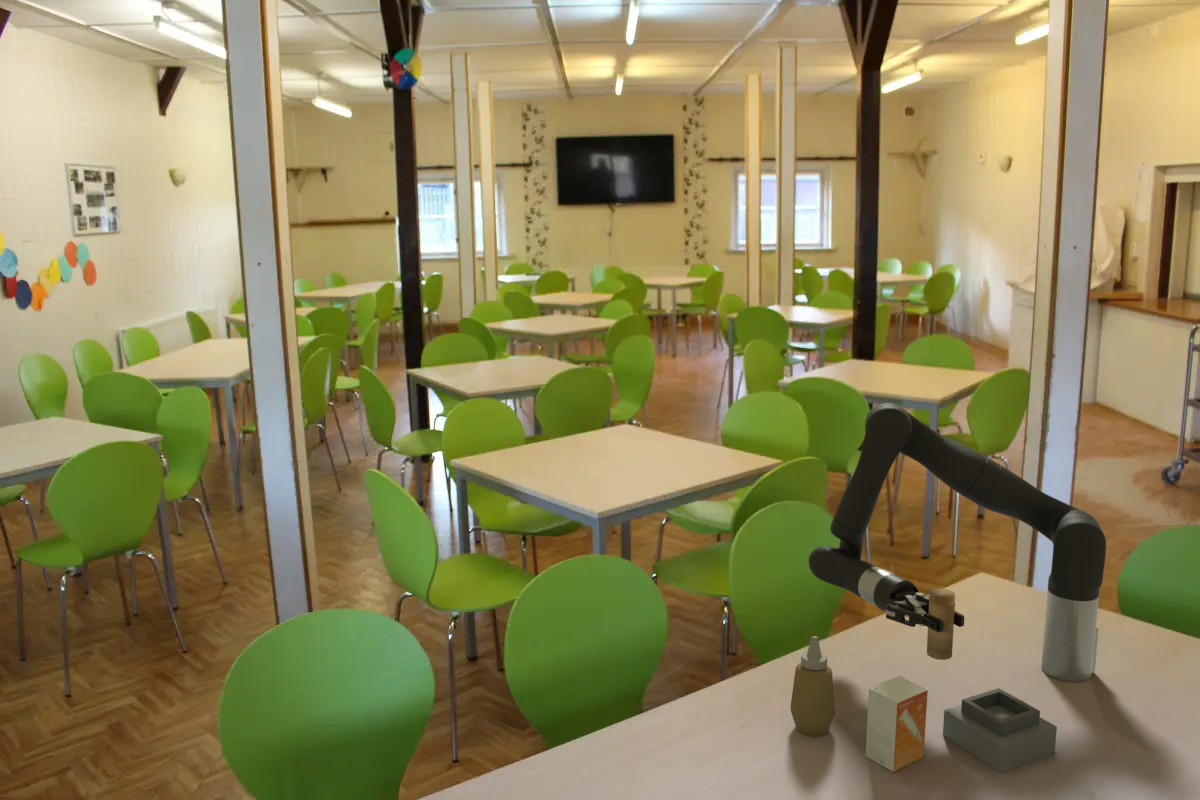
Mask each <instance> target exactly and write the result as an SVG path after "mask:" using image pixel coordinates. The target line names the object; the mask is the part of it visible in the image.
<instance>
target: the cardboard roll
mask: <svg viewBox="0 0 1200 800" xmlns="http://www.w3.org/2000/svg"><path fill="white" fill-rule="evenodd" d="M928 595H929V614H930V615H932V616H934V617H936V618H938V619H940V620H942V621H943V623H944V627H943V632H940V633H938V632H937V631H935V630H932V629H930V628H928V627H927V640H926V641H927V643H926V655H927V656H929V658H932V659H935V660H939V661H940V660H941V661H943V660H945V661H946V660H950V659H951V658H952V657H953V647H954V646H953V645H954V644H953V643H954V642H953V641H954V629H955V628H954V627H955V624H954V608H955V609H956V593H955V591H952V590H950V589H948V588H933V589H930V590H929V594H928Z"/></svg>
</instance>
